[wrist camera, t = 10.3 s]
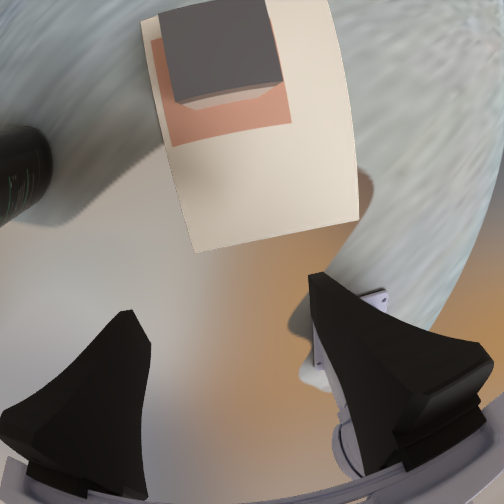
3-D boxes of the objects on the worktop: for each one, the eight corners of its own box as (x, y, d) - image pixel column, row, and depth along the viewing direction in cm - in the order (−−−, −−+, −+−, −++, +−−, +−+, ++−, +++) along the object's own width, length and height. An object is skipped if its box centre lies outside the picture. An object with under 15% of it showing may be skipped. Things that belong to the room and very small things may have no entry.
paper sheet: (357, 218, 21) (359, 220, 20) (195, 251, 21) (194, 254, 20) (324, -2, 12) (326, -4, 12) (141, 23, 12) (140, 20, 12)
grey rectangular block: (257, 98, 16) (283, 81, 8) (195, 110, 16) (174, 101, 8) (245, 44, 14) (263, -6, 7) (184, 56, 14) (158, 14, 7)
